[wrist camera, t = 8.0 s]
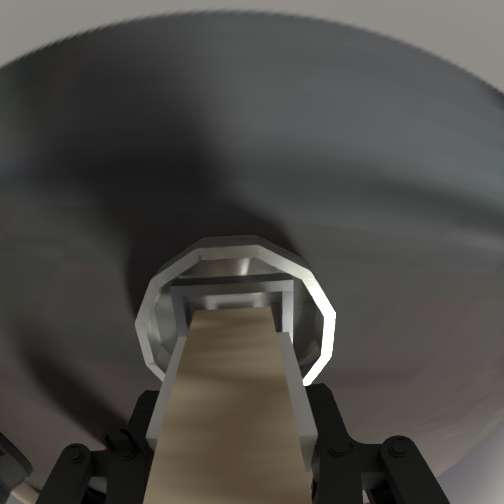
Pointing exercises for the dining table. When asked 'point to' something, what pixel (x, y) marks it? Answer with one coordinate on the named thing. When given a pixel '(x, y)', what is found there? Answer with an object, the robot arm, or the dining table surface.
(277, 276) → the tin
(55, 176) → the dining table surface
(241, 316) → the upright wooden post
